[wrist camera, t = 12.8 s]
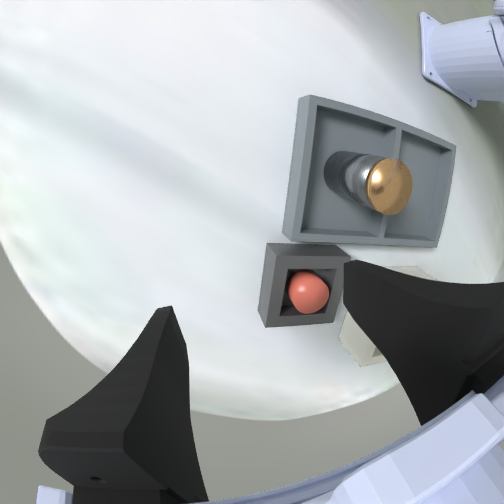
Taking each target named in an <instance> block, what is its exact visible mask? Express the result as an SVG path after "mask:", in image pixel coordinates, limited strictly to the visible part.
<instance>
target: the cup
mask: <svg viewBox="0 0 504 504" xmlns="http://www.w3.org/2000/svg"><path fill="white" fill-rule="evenodd" d="M384 268H388V269H391V270H394V271H397V272H401V273H404V274H408V275H412V276H416V277H420V278H424V279H429V280H435V281H438V280H437V279H435V278H434V277H432V276H431V275H429V274H428V273H426V272H425V271H423V270H422V269H420V268H419V267H417V266H416V267H384ZM339 340H340V341H341V342H342V344H343V345H344V347H345V348H346V349H347V351H348V352H349V353H350V355H351V356H352V358H353V359H354V360H355V362H356V363H357V364H358V366H359V367H363V366H367V365H371V364H376V363H380V362H384V361H387V360H386V358H385V357H384V356H383V354H382V353H381V352H380V351H379V350H378V348H377V347H376V346H375V345H374V344H373V342H372V341H371V340H370V339H369V338H368V337H367V335H366V334H365V333H364V332H363V331H362V329H361V328H360V327H359V326H358V325H357V323H356V322H355V321H354V320H353V318H352V317H351V315H350V313H349V312H348V310H347V313H346V316H345V319H344V323H343V326H342V329H341V332H340V335H339Z"/></svg>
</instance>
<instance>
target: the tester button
mask: <svg viewBox="0 0 504 504" xmlns="http://www.w3.org/2000/svg"><path fill="white" fill-rule="evenodd" d="M286 293H287V295H288V296H289V298H290V299H291V301H292V303H293V304H294V306H295V307H296V309H297V310H298V311H299V312H301V313H304V314H310V313H314V312H316V311H318V310H320V309H321V308H322V307H323V306H324V305H325V304H326V302H327V300H328V297H329V289H328V287H327V285H326V284H325V283H324V282H323V281H322V280H321V279H320V278H319V277H318V276H317V274H316V273H315V272H313V271H312V270H309V269H303V270H299V271H297V272H295V273H294V274H292V275H291V276H290V278H289V279H288V281H287V283H286Z"/></svg>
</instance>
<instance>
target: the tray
mask: <svg viewBox="0 0 504 504" xmlns="http://www.w3.org/2000/svg"><path fill="white" fill-rule="evenodd" d="M338 151H350V152H357V153H363V154H369V155H375V156H381V157H386V158H392V159H397V160H400V161H402V162H403V163H404V164H405V165H406V166H407V167H408V169H409V170H410V173H411V176H412V182H413V187H412V193H411V197H410V199H409V201H408V203H407V205H406V206H405V207H404V209H403V210H401V211H400V212H399V213H397V214H394V215H385V214H382V213H380V212H378V211H376V210H374V209H371V208H369V207H367V206H365V205H362V204H360V203H358V202H356V201H353V200H351V199H349V198H346V197H344V196H342V195H339V194H337V193H334V192H333V191H331V190H330V189H329V188H328V186H327V185H326V183H325V180H324V174H323V173H324V166H325V163H326V161H327V159H328V158H329V157H330V156H331V155H332V154H333V153H335V152H338ZM455 153H456V145H454V144H452V143H449V142H447V141H445V140H443V139H441V138H439V137H436V136H434V135H432V134H430V133H427V132H425V131H423V130H420V129H418V128H415V127H413V126H410V125H408V124H405V123H403V122H400V121H397V120H395V119H392V118H389V117H386V116H383V115H380V114H377V113H374V112H371V111H368V110H365V109H362V108H359V107H355V106H352V105H348V104H345V103H341V102H338V101H334V100H330V99H326V98H322V97H318V96H314V95H307V96H304V97H301V98H299V101H298V110H297V119H296V128H295V137H294V145H293V154H292V162H291V170H290V178H289V185H288V193H287V200H286V208H285V215H284V222H283V230H282V233H283V234H284V235H285V236H286V237H287V238H288V239H289V240H290V241H304V242H330V243H354V244H377V245H398V246H418V247H437V245H438V241H439V238H440V234H441V230H442V226H443V221H444V217H445V212H446V208H447V203H448V198H449V193H450V187H451V181H452V175H453V168H454V161H455Z"/></svg>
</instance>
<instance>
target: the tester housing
mask: <svg viewBox="0 0 504 504" xmlns="http://www.w3.org/2000/svg"><path fill="white" fill-rule="evenodd" d="M349 261H350V256H349V255H348V254H346V253H345V252H344V251H342V250H341V249H340V248H339V247H337V246H336V245H313V244H282V243H267V245H266V253H265V261H264V268H263V276H262V283H261V291H260V298H259V306H258V312H259V314H260V316H261V319H262V321H263V323H264V326H265V328H267V327H284V326H298V325H311V324H322V323H333V322H334V318H335V315H336V311H337V308H338V304H339V300H340V297H341V293H342V289H343V285H344V263H346V262H349ZM303 269H309V270H312V271H313V272H315V273H316V274H317V276H318V277H319V278H320V279H321V280H322V281H323V282H324V283H325V284H326V285H327V287H328V289H329V297H328V300H327V302H326V304H325V305H324V306H323V307H322V308H321V309H320V310H318V311H316V312H314V313H310V314H304V313H301V312H299V311H298V310H297V309H296V307H295V306H294V304H293V303H292V301H291V299H290V298H289V296H288V295H287V293H286V283H287V281H288V279H289V278H290V276H291V275H292V274H294V273H295V272H297V271H299V270H303Z"/></svg>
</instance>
